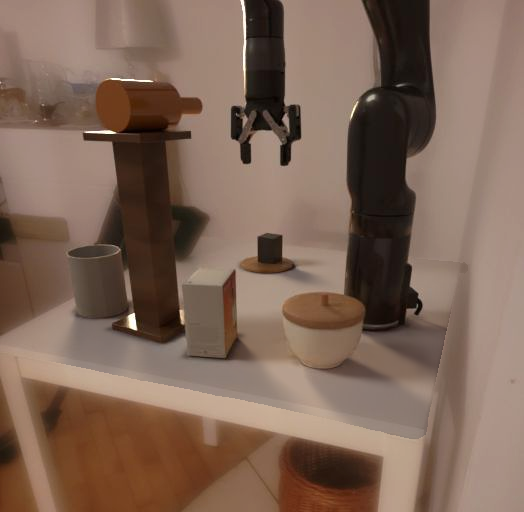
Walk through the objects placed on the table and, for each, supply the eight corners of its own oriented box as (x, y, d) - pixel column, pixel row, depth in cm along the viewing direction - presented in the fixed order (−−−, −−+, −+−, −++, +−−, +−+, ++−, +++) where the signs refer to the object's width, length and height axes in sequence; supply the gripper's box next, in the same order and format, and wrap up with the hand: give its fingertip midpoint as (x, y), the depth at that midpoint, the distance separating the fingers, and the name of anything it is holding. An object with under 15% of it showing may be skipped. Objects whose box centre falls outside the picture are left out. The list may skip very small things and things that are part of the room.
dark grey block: (266, 232, 107) (257, 236, 104) (282, 234, 105) (273, 238, 102) (266, 257, 110) (257, 261, 107) (282, 259, 108) (273, 264, 105)
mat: (288, 257, 112) (288, 254, 111) (296, 271, 102) (296, 269, 102) (240, 259, 111) (239, 256, 110) (243, 273, 101) (243, 271, 101)
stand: (155, 308, 84) (136, 129, 71) (202, 320, 79) (191, 130, 67) (112, 329, 76) (82, 132, 63) (161, 343, 71) (139, 134, 59)
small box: (225, 359, 67) (222, 286, 62) (186, 356, 68) (180, 283, 63) (238, 335, 74) (236, 267, 69) (202, 332, 75) (198, 265, 70)
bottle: (182, 127, 76) (179, 84, 74) (213, 128, 74) (211, 83, 71) (99, 132, 63) (91, 79, 61) (133, 133, 61) (127, 78, 58)
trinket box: (366, 378, 62) (373, 309, 58) (282, 377, 62) (283, 308, 58) (354, 341, 72) (359, 280, 67) (281, 341, 72) (281, 280, 68)
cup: (86, 300, 87) (76, 244, 83) (132, 299, 87) (125, 244, 83) (70, 318, 80) (58, 258, 75) (120, 318, 80) (112, 258, 75)
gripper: (220, 70, 89) (224, 165, 96) (289, 65, 82) (288, 168, 89) (242, 72, 94) (245, 162, 102) (309, 68, 88) (306, 164, 95)
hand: (265, 164), depth 95 cm, fingers open, 8 cm apart
